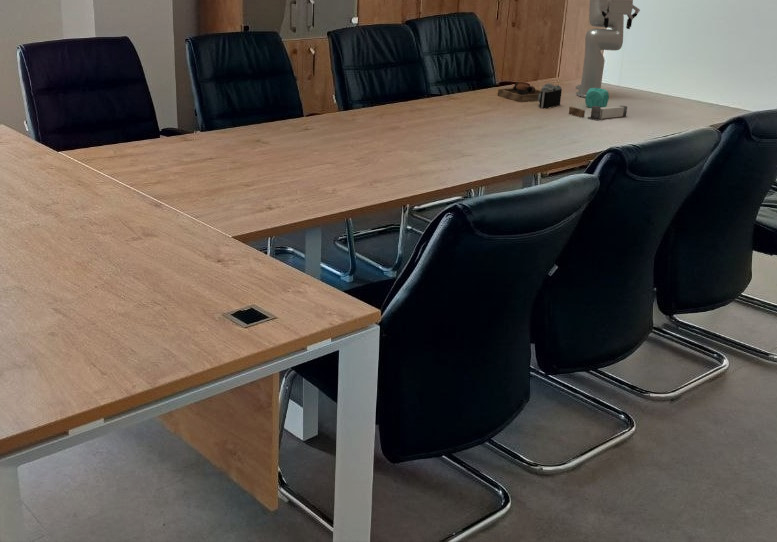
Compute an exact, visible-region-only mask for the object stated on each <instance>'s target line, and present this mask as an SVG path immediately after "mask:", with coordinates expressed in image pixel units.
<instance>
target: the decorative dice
mask: <svg viewBox="0 0 777 542" xmlns="http://www.w3.org/2000/svg"><path fill="white" fill-rule="evenodd" d="M609 96H610V93H609V91H608V90H607V89H605V88H601V89H600V88H590V89H589V90H588V92H587V94H586V98H585V99H584V100H585V101H584V102H585V105H586V107H587V106H588V107H587V108H589V107H590V109H592V106H599V107H607V105H608V102H609V98H610V97H609Z"/></svg>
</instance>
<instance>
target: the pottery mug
mask: <svg viewBox="0 0 777 542" xmlns="http://www.w3.org/2000/svg"><path fill="white" fill-rule="evenodd" d="M512 88H513V90H515V91H517V92H518V93H516V94H519V95H529V94H534V93H535V89H536V88H535V86H532V85H531V84H530V83H528V82H525V81H518V82H515V83H514V86H512ZM526 88H527V89H526ZM513 90H512V91H513Z"/></svg>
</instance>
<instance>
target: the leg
mask: <svg viewBox="0 0 777 542" xmlns="http://www.w3.org/2000/svg"><path fill="white" fill-rule="evenodd" d="M627 112H628V106H627V105H614V106H606V107H601V108H600V115H599V118H602V119H610V118H620V117H627Z"/></svg>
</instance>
